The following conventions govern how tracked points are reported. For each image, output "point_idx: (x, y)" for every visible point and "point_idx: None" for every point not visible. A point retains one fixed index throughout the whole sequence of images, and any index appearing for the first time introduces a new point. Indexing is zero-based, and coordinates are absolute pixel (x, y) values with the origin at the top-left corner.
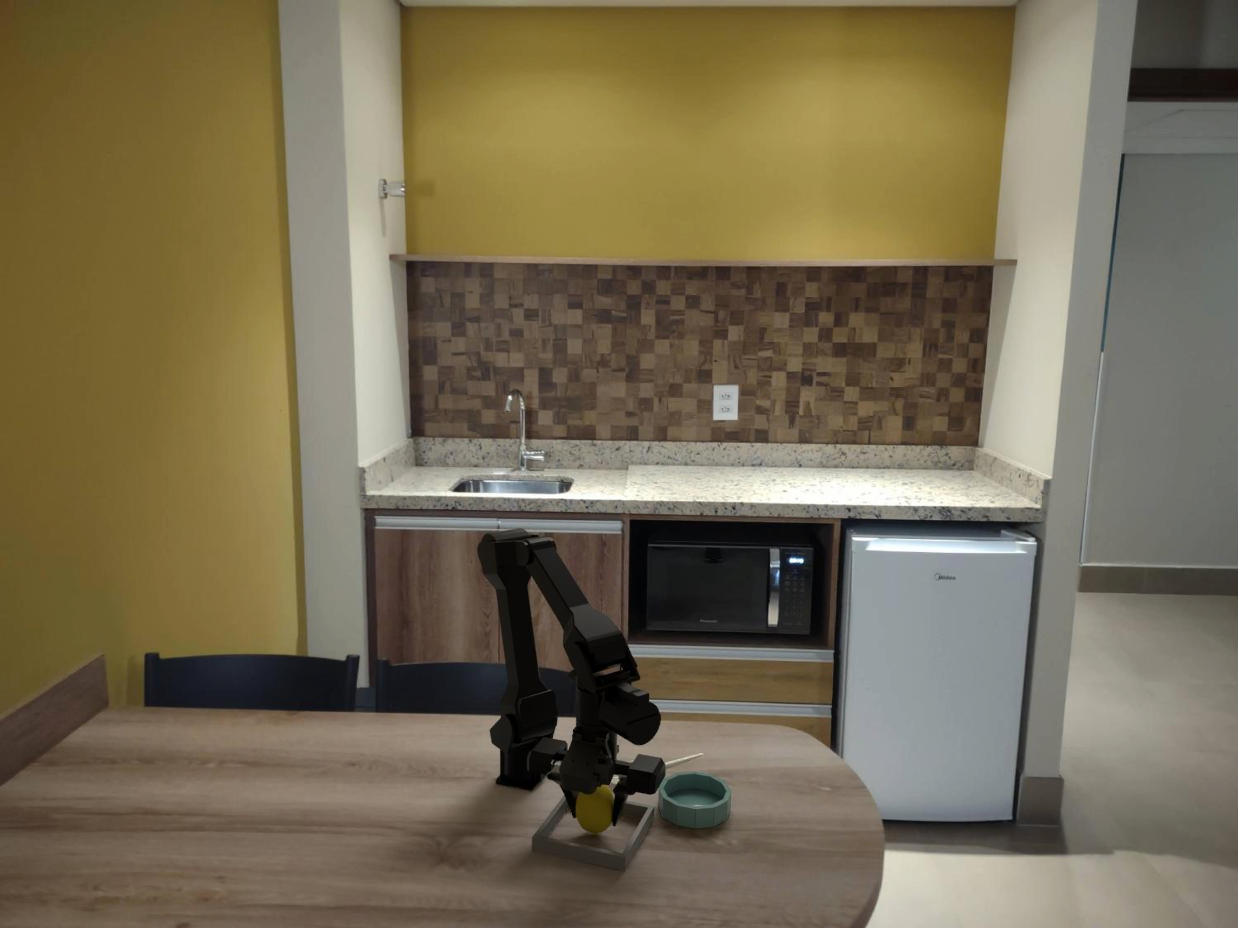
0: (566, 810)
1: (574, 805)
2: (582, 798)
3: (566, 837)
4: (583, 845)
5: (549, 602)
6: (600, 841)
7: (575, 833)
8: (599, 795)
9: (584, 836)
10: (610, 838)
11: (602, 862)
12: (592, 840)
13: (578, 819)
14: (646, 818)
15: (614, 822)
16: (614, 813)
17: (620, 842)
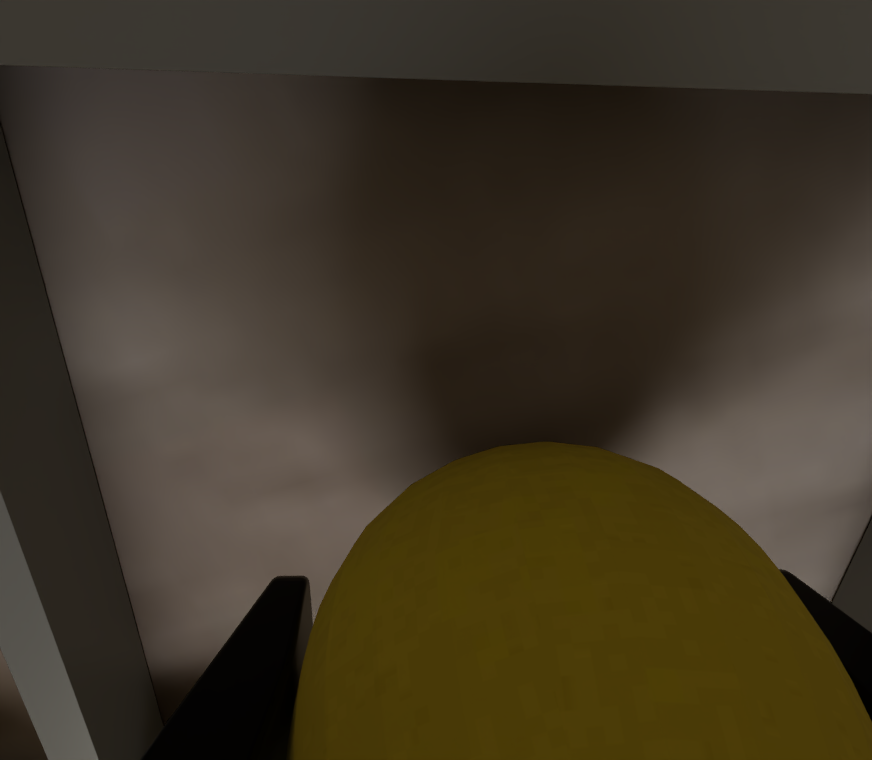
0: None
1: (866, 709)
2: None
3: (766, 368)
4: (542, 74)
5: None
6: (422, 411)
7: (687, 447)
8: None
9: (594, 432)
10: (348, 477)
11: None
12: (502, 402)
13: (737, 526)
14: (54, 750)
15: (269, 610)
16: (235, 726)
17: (233, 453)
